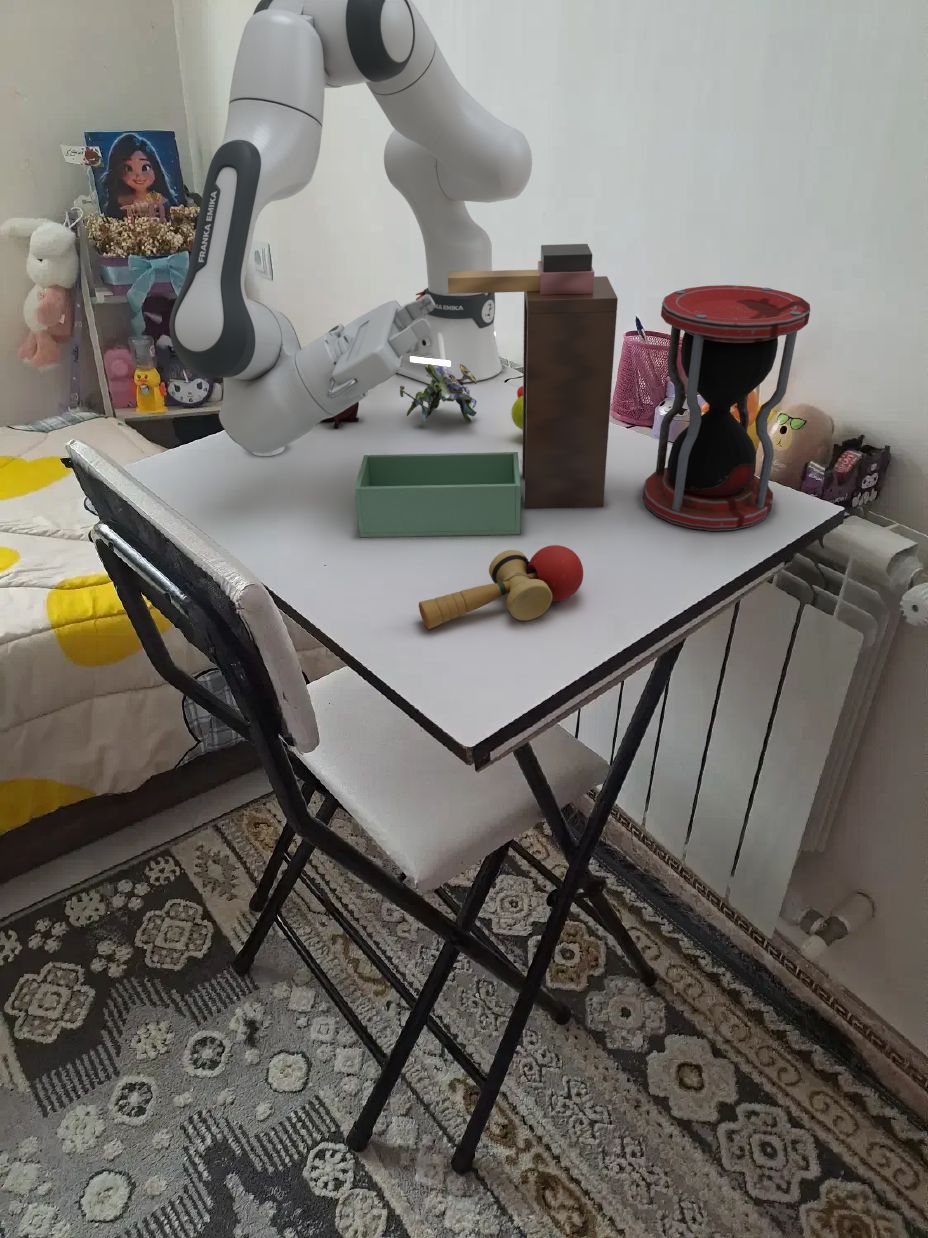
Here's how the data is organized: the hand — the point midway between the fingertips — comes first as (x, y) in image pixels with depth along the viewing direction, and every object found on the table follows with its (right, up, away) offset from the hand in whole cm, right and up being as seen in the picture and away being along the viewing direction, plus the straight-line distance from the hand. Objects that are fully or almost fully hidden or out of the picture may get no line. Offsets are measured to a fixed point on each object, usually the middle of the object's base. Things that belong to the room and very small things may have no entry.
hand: (430, 311), depth 102 cm
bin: (+1, -23, +8) cm, 25 cm away
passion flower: (+1, -6, +33) cm, 34 cm away
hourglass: (+35, -21, +9) cm, 42 cm away
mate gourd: (-15, -5, +35) cm, 39 cm away
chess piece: (-25, -11, +27) cm, 39 cm away
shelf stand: (+17, -19, +13) cm, 29 cm away
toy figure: (+14, -10, +27) cm, 32 cm away
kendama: (+8, -36, -10) cm, 38 cm away
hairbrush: (+10, +2, -2) cm, 11 cm away
